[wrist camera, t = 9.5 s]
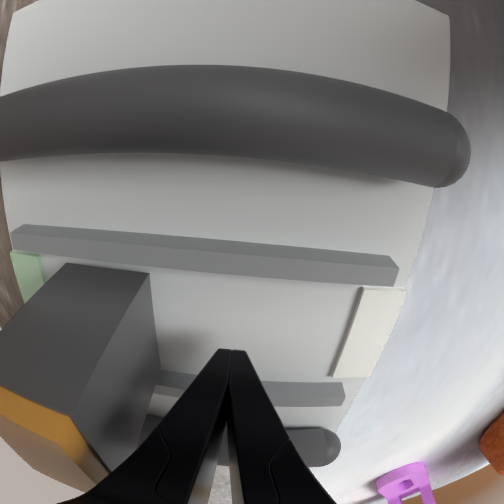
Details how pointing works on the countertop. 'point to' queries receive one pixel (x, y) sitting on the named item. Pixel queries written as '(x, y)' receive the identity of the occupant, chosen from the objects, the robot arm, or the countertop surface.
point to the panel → (235, 177)
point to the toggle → (79, 373)
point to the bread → (494, 444)
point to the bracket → (406, 483)
